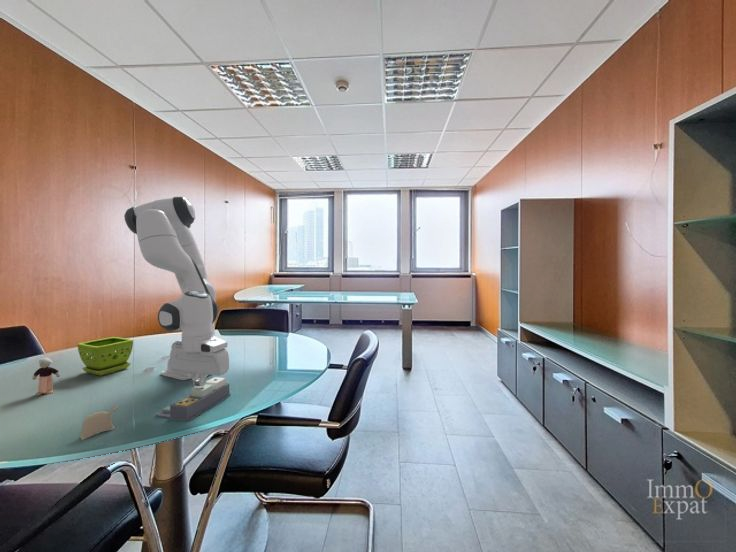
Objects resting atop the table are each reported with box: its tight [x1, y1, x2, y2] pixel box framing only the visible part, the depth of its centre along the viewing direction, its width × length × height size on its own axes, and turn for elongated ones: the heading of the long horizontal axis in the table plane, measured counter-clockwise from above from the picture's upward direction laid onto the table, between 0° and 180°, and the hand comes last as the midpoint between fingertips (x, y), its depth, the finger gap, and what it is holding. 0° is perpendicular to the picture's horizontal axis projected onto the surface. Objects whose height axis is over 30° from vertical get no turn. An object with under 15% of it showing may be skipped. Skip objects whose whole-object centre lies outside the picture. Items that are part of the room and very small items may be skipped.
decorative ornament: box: [79, 405, 119, 441], centre depth 83 cm, size 4×8×5 cm, turn 142°
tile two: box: [190, 384, 213, 398], centre depth 97 cm, size 4×4×4 cm
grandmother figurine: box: [31, 356, 61, 396], centre depth 107 cm, size 8×4×13 cm, turn 117°
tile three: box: [175, 397, 199, 407], centre depth 92 cm, size 4×4×4 cm
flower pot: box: [77, 336, 134, 376], centre depth 129 cm, size 14×14×13 cm
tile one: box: [205, 376, 227, 390], centre depth 103 cm, size 4×4×4 cm
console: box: [154, 382, 232, 422], centre depth 98 cm, size 12×18×4 cm, turn 166°
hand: (199, 385), depth 97 cm, fingers closed
